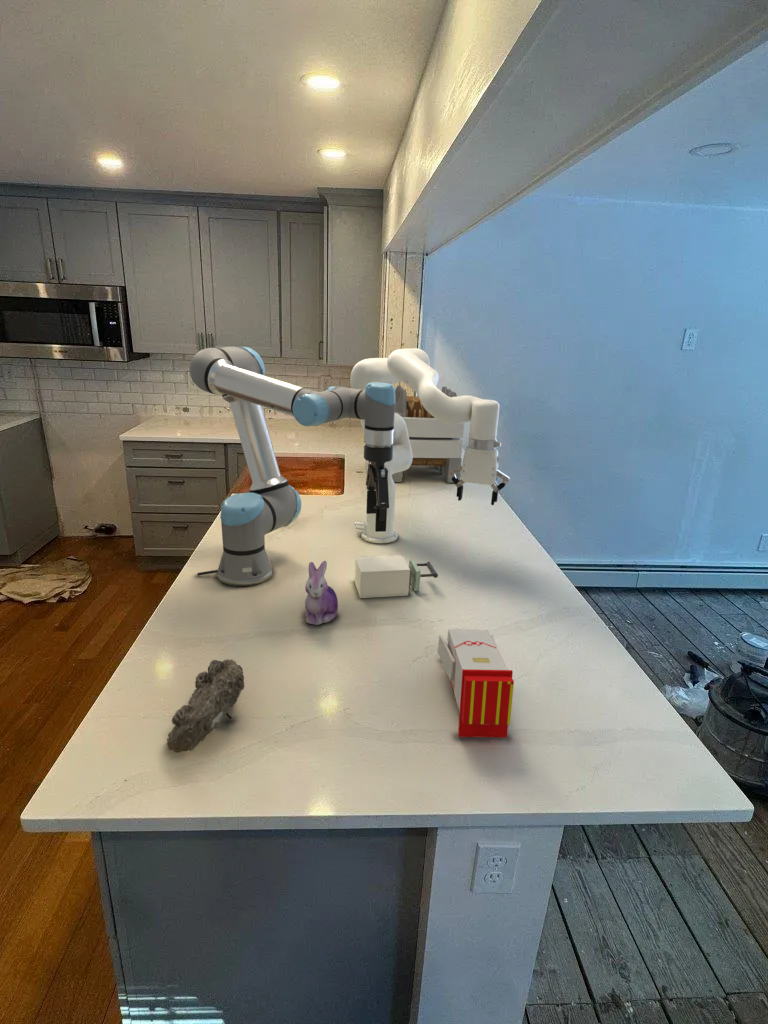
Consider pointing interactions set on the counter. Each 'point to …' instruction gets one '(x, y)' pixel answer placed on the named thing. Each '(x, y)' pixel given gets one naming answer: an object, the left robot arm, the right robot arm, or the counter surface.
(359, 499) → the counter surface
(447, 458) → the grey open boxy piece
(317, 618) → the figurine
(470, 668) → the toy
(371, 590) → the open cream box
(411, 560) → the drawer
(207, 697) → the fossil
